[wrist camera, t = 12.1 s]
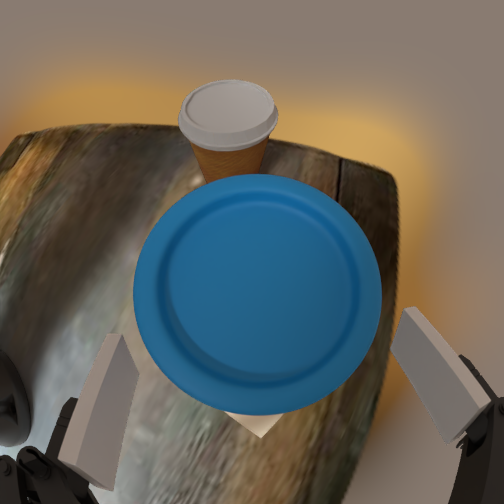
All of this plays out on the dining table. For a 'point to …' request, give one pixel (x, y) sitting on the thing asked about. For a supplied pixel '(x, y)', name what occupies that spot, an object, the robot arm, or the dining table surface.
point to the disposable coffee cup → (228, 126)
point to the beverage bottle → (257, 294)
